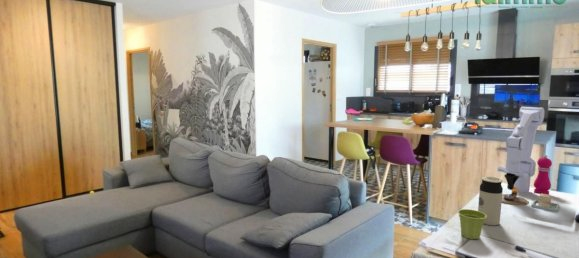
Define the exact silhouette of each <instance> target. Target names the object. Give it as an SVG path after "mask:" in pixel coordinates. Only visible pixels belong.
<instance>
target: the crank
mask: <svg viewBox="0 0 579 258" xmlns="http://www.w3.org/2000/svg"><path fill="white" fill-rule="evenodd" d="M518 193H519V191H518V188H517V187H512V190H511V193H510V194H509V193H508V194H507V193H506V194H505V195H504V199H506V200H514V197H516V196H517V197H518Z"/></svg>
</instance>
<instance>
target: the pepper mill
mask: <svg viewBox="0 0 579 258" xmlns="http://www.w3.org/2000/svg"><path fill="white" fill-rule="evenodd" d="M536 165H537V171H538V175H537V176H536V178H535V180H534V181H533V186H534V191H533V193H534V194H536V195H537V194H538V195H540V194H547V195H550V191H549V190H550V189H551V188H552V183H551V180H550V175H549V173H550V171H551V167H552V165H553V162H552V160H551V159H550V158H548V155H547V154H544V155H543V156H542V157H540V158H539V159H538V160H537V163H536Z"/></svg>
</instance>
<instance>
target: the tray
mask: <svg viewBox="0 0 579 258" xmlns="http://www.w3.org/2000/svg"><path fill="white" fill-rule="evenodd" d="M535 203H538V205H539V199H534V200H533V201H532V203H531V204H530V205H531V206H530V207H531V208H535V209H539V210H544V211H545V210H546V211H551V212H555V213H557V212H558V209H559V207H560V204H559V203H557V202H551V206H554V207H555V208H553V207H550V208H549V207H543V206H538V205H537V204H535Z"/></svg>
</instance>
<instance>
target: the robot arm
mask: <svg viewBox="0 0 579 258" xmlns="http://www.w3.org/2000/svg"><path fill="white" fill-rule="evenodd" d="M518 116H519V120H520V121H519V124H518V125H515V127H514V129H513V130H512V132H511V134H510V136H508V137H507V138H506V140H505V146H506V147H505V148H506V158H505V159H506V162H505V163H506V164H505V167H503V166H498V167H497V171H498V172H501V173H505V174H504V178H505V179H506V183H507V184H506V189H507V190H511V191H512V187H517V188H518V192H520V193H532V192H531V191H530V186H531V185H530V184H531V177H534V176H535V174H536V165H537V163H536V161H535V160H534V159H533V158H532V151H533V149H534V142H535V138H536V133H537V131H538V128H539V127H540V126H542V125H543V122H544V118H545V109H544V107H535V106H534V107H533V106H521V107H520V108H519V111H518ZM532 194H533V193H532Z"/></svg>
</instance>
